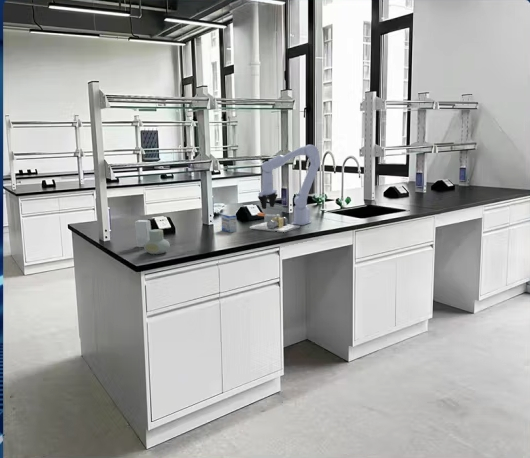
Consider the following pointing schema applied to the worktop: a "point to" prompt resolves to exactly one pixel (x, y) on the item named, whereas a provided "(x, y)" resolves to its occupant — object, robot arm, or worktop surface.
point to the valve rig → (276, 225)
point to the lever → (267, 214)
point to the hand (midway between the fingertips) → (268, 207)
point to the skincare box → (142, 232)
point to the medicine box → (229, 222)
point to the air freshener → (156, 242)
